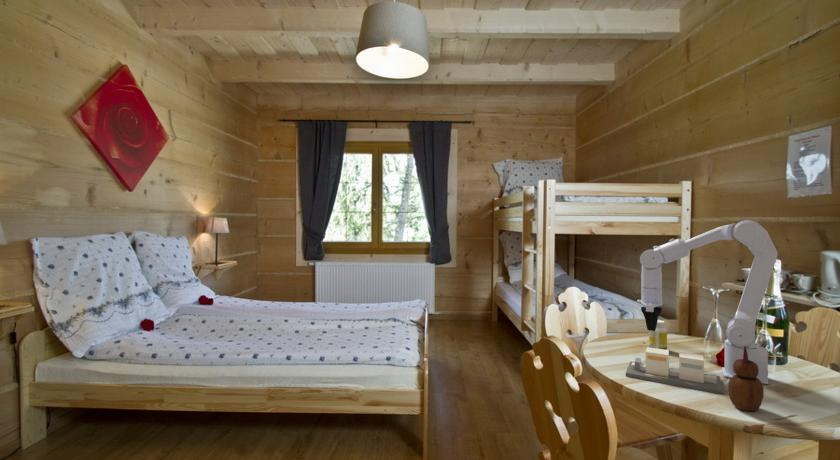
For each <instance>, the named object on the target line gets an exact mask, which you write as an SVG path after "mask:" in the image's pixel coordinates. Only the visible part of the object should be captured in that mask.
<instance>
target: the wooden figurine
mask: <svg viewBox="0 0 840 460" xmlns="http://www.w3.org/2000/svg"><path fill="white" fill-rule="evenodd" d="M733 371H734V373H735V374H736V375H734V376H733V377H732V378H729V381H728V384H727V393H728V398H729V399H730V402H731V403H732V405H733V406H734V407H736V408H738V409H739V410H741V411H746V412H755V411H757V410H759V409H760V407H761V405H762V403H763V400H764V396H765V394H764V393H765V391H764V387H763V386H764V384H763V383H761V381H760V380H759V379H758V378H756V377H757V376H758V374H759V369H758V365H757V364H756V363H755V362H753V361H750V360H748V353H747V350H746V347H745V346H744V354H743V359H737V360H736V361H735V362H734V364H733Z"/></svg>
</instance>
